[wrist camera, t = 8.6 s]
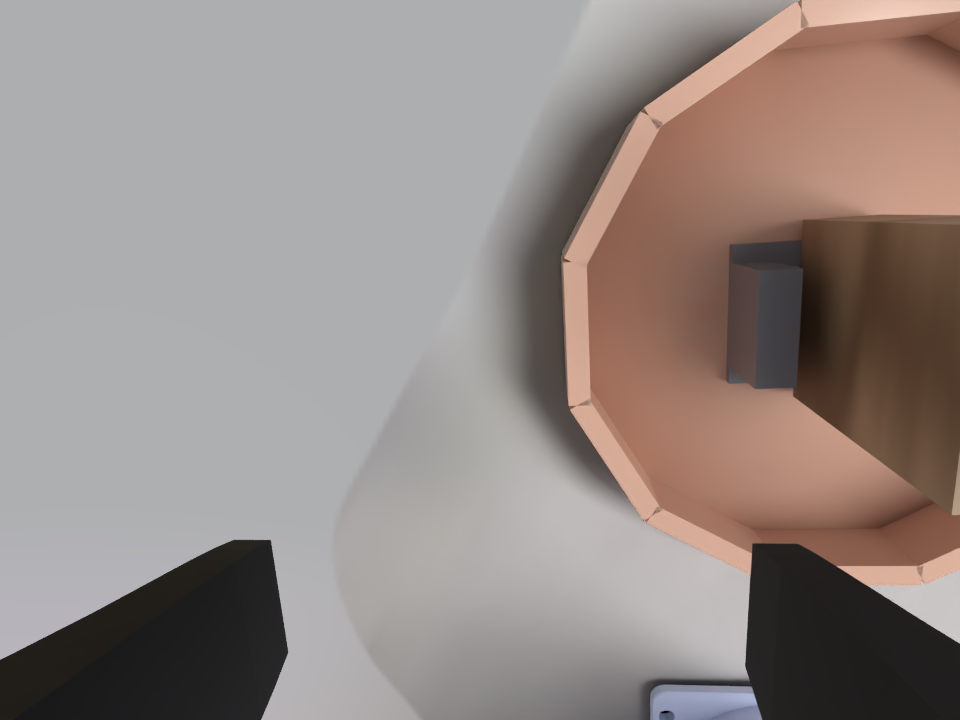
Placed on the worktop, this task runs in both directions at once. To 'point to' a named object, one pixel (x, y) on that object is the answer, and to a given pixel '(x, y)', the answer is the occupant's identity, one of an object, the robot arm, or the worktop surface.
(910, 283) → the tan rectangular block
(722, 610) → the worktop surface
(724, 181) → the candle dish
